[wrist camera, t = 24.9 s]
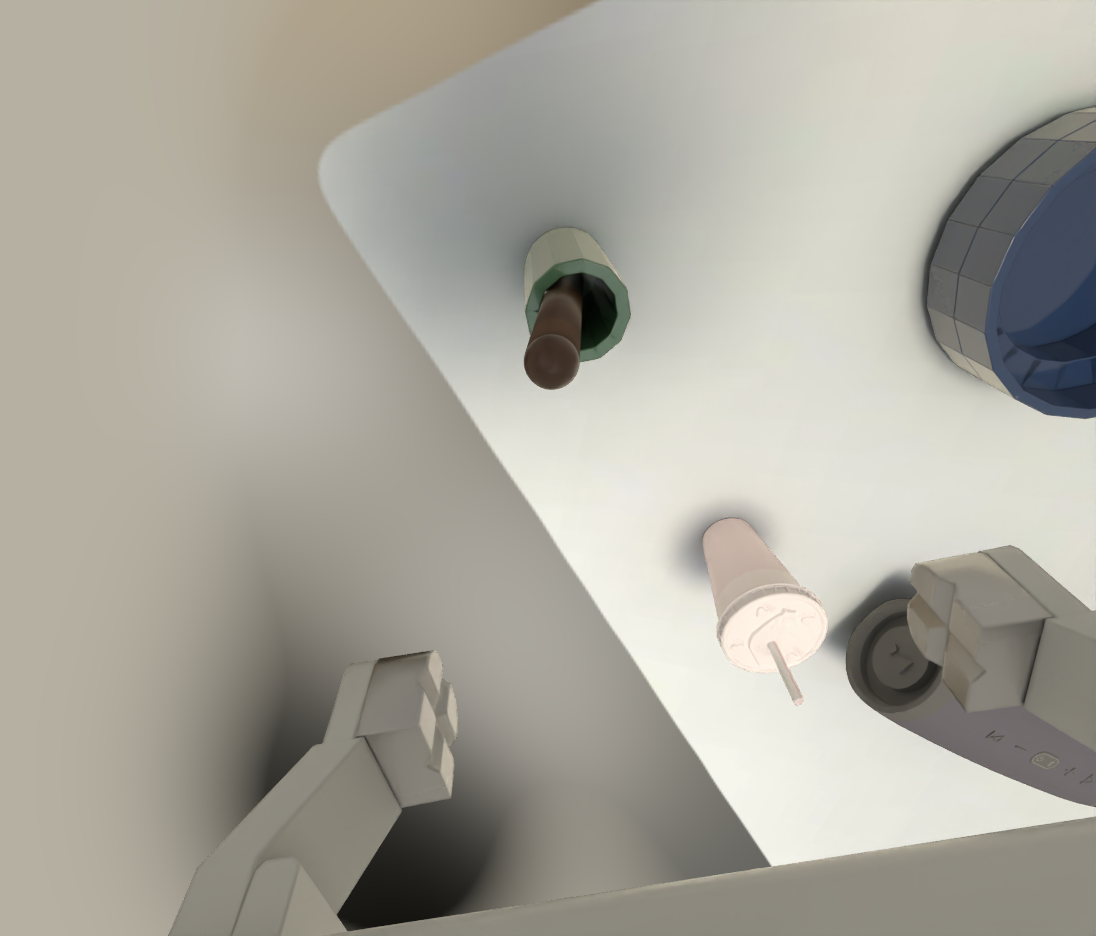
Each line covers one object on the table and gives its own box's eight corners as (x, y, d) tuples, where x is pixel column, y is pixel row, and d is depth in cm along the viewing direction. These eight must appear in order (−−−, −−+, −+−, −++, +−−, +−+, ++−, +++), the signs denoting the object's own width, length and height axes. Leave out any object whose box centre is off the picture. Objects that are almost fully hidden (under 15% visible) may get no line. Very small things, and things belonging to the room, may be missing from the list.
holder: (516, 236, 35) (516, 272, 27) (598, 219, 35) (622, 249, 27) (534, 317, 38) (538, 371, 30) (611, 301, 37) (636, 351, 29)
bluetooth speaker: (816, 642, 51) (878, 751, 43) (901, 560, 48) (987, 661, 39) (1003, 731, 58) (1090, 842, 49) (1091, 665, 54) (1202, 772, 45)
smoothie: (670, 566, 47) (724, 726, 35) (702, 493, 44) (773, 640, 32) (751, 581, 48) (830, 742, 36) (787, 511, 45) (887, 660, 33)
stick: (548, 262, 36) (515, 347, 20) (580, 255, 35) (573, 336, 19) (554, 294, 36) (528, 401, 20) (586, 288, 36) (583, 392, 20)
